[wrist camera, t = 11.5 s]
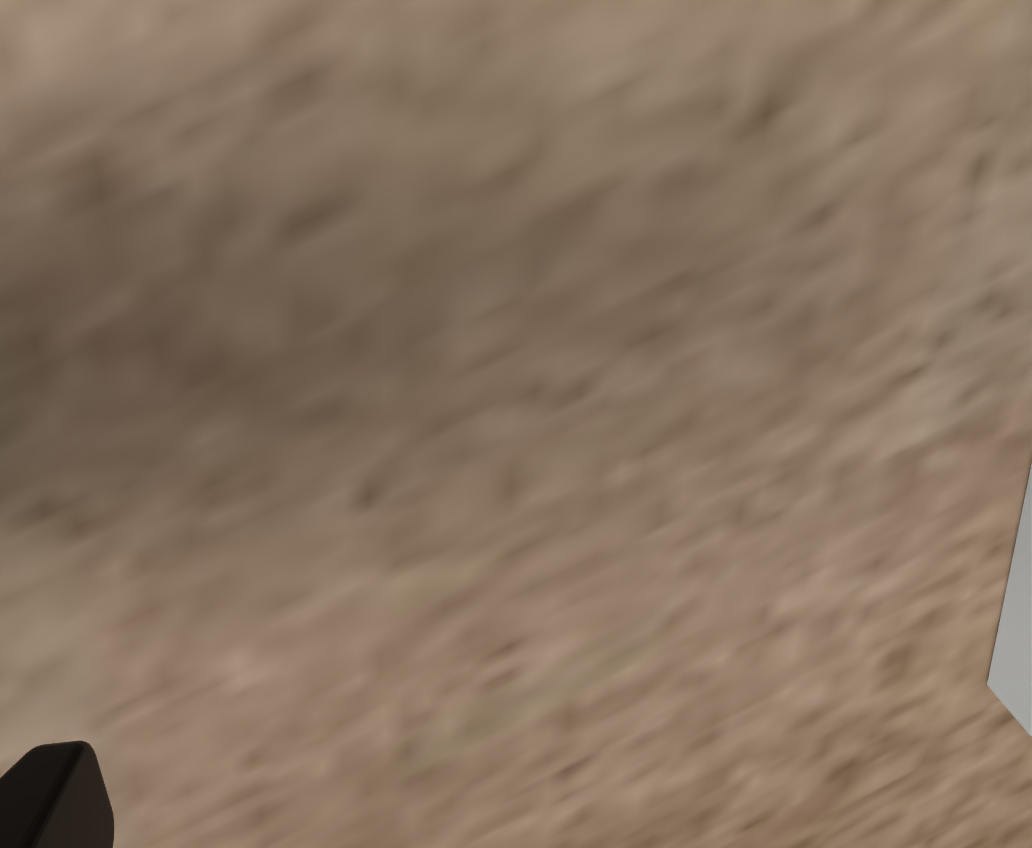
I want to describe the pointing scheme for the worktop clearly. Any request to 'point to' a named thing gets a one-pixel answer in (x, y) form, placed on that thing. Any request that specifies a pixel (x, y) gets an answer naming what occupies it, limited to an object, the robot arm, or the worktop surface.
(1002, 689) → the rack
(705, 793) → the worktop surface
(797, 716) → the worktop surface
